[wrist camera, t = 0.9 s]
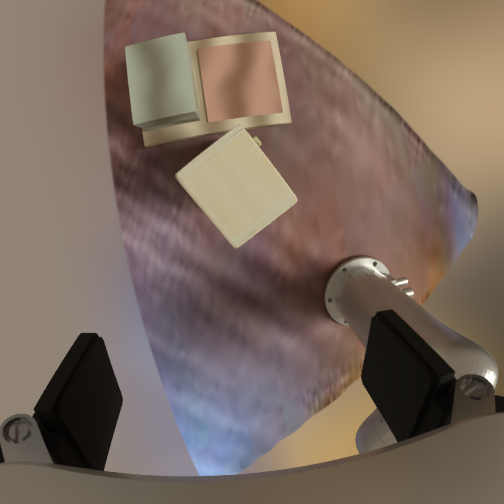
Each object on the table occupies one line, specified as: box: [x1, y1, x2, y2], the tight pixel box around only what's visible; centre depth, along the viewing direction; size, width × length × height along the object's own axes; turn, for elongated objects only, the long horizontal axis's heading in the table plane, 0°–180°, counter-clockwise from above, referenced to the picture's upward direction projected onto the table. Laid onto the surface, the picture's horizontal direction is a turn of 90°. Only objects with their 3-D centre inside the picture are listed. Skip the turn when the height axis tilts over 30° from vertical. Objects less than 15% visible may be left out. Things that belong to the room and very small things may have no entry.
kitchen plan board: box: [125, 32, 291, 148], centre depth 35 cm, size 20×14×11 cm
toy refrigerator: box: [175, 124, 298, 248], centre depth 34 cm, size 8×7×21 cm
